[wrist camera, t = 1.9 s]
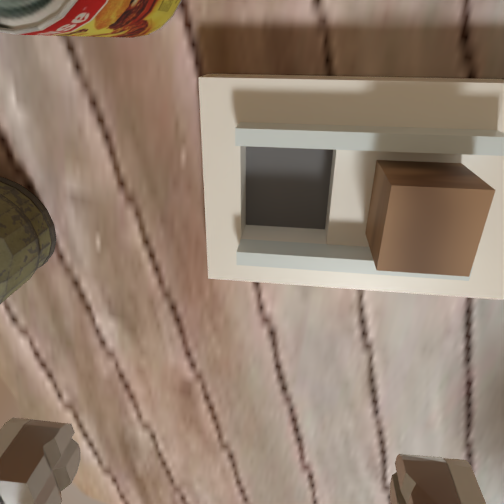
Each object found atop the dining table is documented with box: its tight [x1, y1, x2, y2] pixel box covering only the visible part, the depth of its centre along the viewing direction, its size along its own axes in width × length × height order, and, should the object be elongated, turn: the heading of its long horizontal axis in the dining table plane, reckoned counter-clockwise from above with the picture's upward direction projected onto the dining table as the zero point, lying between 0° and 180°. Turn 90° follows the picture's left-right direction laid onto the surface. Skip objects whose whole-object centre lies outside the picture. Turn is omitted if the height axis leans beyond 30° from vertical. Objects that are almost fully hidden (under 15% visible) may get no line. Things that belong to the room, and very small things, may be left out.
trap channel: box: [198, 74, 504, 300], centre depth 26 cm, size 25×14×5 cm, turn 89°
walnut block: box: [365, 160, 495, 277], centre depth 23 cm, size 5×5×5 cm
